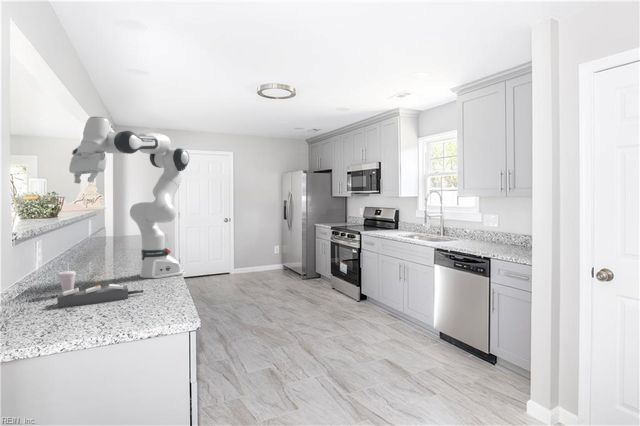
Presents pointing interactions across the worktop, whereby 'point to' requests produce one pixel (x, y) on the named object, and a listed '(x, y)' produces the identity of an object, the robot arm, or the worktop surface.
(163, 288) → the worktop surface
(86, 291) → the rocker
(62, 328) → the worktop surface
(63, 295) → the block
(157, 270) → the robot arm
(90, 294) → the power strip
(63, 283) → the smoothie
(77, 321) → the worktop surface
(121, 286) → the plate
